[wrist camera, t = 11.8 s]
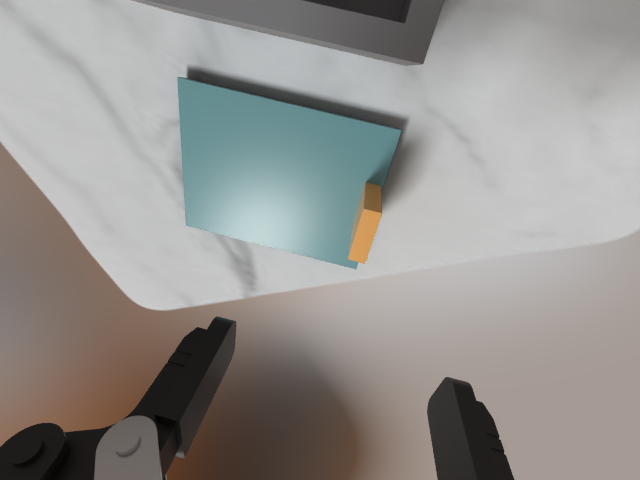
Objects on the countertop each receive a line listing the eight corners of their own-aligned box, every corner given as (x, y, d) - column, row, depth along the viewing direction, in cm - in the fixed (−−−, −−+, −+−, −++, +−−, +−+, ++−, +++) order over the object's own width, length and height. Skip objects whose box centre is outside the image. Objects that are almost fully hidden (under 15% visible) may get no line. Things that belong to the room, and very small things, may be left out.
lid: (193, 219, 29) (151, 254, 23) (188, 76, 22) (127, 79, 17) (356, 260, 28) (352, 307, 23) (400, 127, 21) (408, 147, 16)
